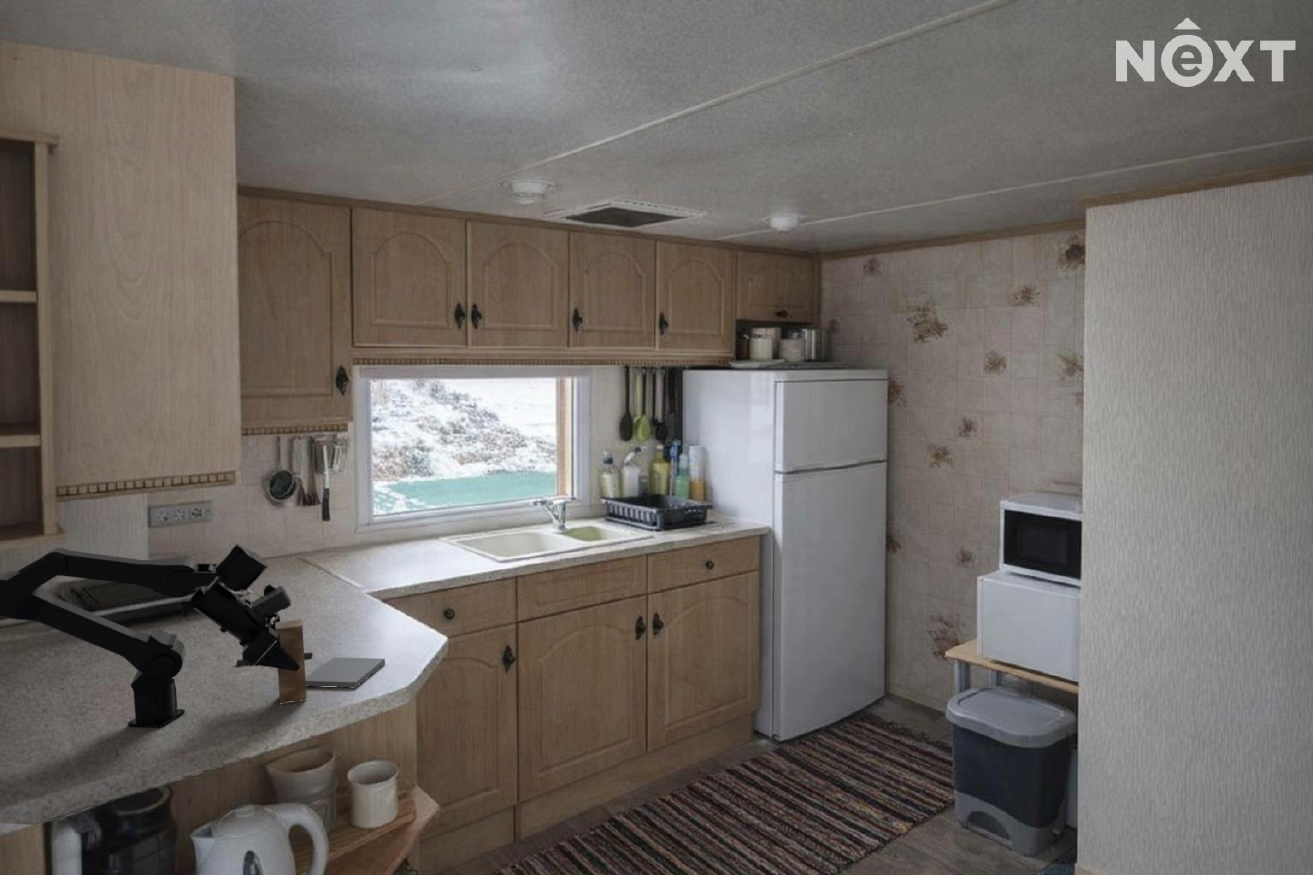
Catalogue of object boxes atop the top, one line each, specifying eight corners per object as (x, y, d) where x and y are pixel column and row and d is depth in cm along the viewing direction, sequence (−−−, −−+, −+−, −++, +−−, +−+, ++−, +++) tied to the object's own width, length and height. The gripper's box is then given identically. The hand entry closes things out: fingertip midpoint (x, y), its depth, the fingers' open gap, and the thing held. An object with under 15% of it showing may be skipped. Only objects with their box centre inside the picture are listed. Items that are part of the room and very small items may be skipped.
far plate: (355, 688, 165) (355, 682, 165) (301, 686, 166) (300, 680, 166) (385, 664, 178) (384, 658, 177) (333, 663, 179) (333, 657, 179)
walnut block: (279, 704, 157) (275, 629, 156) (279, 696, 162) (275, 622, 160) (306, 700, 159) (302, 625, 158) (305, 691, 163) (301, 619, 162)
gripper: (259, 587, 148) (332, 640, 153) (261, 564, 165) (326, 613, 170) (210, 639, 146) (286, 691, 151) (218, 610, 163) (285, 658, 168)
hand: (298, 660), depth 160 cm, fingers open, 9 cm apart
